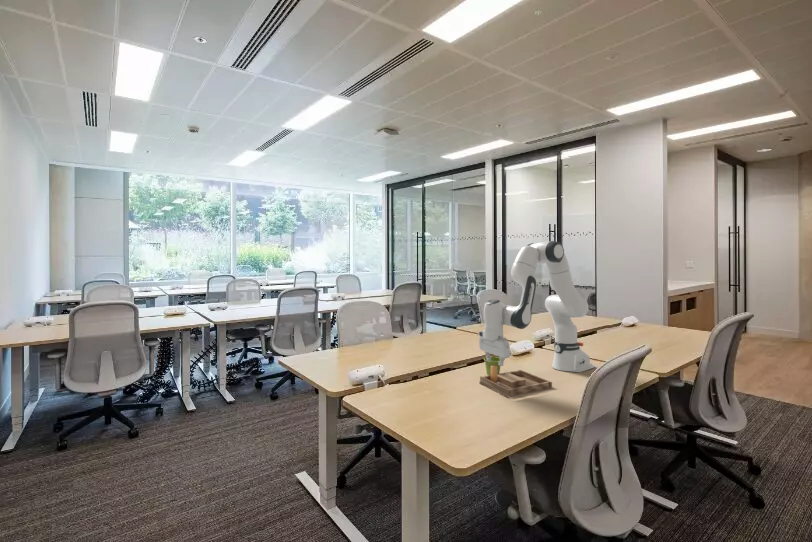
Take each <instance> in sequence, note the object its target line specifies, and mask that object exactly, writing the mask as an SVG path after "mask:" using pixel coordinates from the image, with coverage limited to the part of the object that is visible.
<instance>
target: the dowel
mask: <svg viewBox="0 0 812 542" xmlns="http://www.w3.org/2000/svg"><path fill="white" fill-rule="evenodd" d="M491 381H492V382H495V383H497V366H491Z"/></svg>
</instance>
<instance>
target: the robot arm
mask: <svg viewBox="0 0 812 542" xmlns="http://www.w3.org/2000/svg"><path fill="white" fill-rule="evenodd" d="M538 264H545V266H546V271H547V276H548V281H549V287H550V288H551V289H552V291H554V292H555V293H556V294H552V295H548V296H547V297H546V298H545V300H544V307H545V309H546V311H547V312H548V313H549V315H550V317H551V319H552V322H553V326H554V343H553V348H554V353H553V361H552V364H551V367H552V368H553V369H555V370H557V371H561V372H574V373H582V372H585V371H588V370H592V369H594V368H596V365H595V364H593V363H591V358H590V355H589V354H588V353H586V352H585V351H584V350H583V349H581V347H583V346H584V342H583V341H582V342H581V341H579V342H578V329H577V328H578V327H577V326H576V324H574V322H573V320H572V318H575V319H576V318H583V317H585V316H586V315H587V313H588V312H589V304H588V302H587V300H585V298H583V297H582V295H580V294H579V292H578V290H577V289H576V287H575V285H574V281H573V279H572V274H571V271H570V265H569V262H568V259H567V256H566V254H565V249H564V246H563V245H562V243H561V242H560V241H556V240H549V241H545V240H544V241H540V242H539V241H538V242H532V243H529V244H527V245H524V246H523V247H521V249H520V250H519V251H518V253H517V255H516V256H515V259H514V261H513V263H512V266H511V270H510V275H511V278H512V279H513V281H514V282H515V283H517V284H518V285H519V286H521V288H522V293H521V296H520V301H519V302H520V303H519V305H517V306H515V305H509V304H505V303H504V302H502V301H501V300H499V299H490V300H487V301H485V303H484V306H483V322H484V325H483V327H484V328H483V330H480V331H478V333H477V334H478V336H479V337H478V344H479V345H478V346H479V349H480V350H481V351H483V352H484V355H485V357H487V361H491V357H492V356H491V355H494V356H495V357H499V359H500V361H499V362H498V365H499V366H500V367H503V366H504V361H505V359H507V358H509V359H510V357H511V348H510V344H509V343H510V342H509V341H508V340H507V338H506V337H504V325H505V326H508V327H509V326H510V327H513V328H516V329H519V330H523V329H525V328H527V327H528V326H529V325H530V323H531V322H532V312H533V311H532V309H533V304H534V300H535V295H536V290H537V289H536V288H537V280H536V278H535V273H536V269H537V266H538Z"/></svg>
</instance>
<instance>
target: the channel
mask: <svg viewBox="0 0 812 542" xmlns="http://www.w3.org/2000/svg"><path fill="white" fill-rule="evenodd" d="M478 384H479V385H481V386H483V387H485V388H487V389H489V390H490V391H493V392H495V393H497V394H498V393H499V395H500V396H502V397H505V398H507V399H510V397H513V396H519V395H523V394H527V393H533V392H538V391H543V390H548V389H553V382H552V381H550V380H548V379H545V378H542V377H540V376H537V375H534V374H532V373H530V372H527V371H524V370H522V369H518V370H513V371H508V372H506V371H505V372H502V373H501V372H500V373H499V374H497V383H495V382H492V381H491V375H484V376H480V377H479V383H478Z"/></svg>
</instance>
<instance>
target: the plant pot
mask: <svg viewBox="0 0 812 542" xmlns="http://www.w3.org/2000/svg"><path fill="white" fill-rule="evenodd" d="M490 357H491V361H487V357H486V356H485V357H483V360H484V365H485V368H486V369H485V370H486V376H489V375H491V366H497V374H501V366H499V365H498V362H499V361H500V359H499V356H490Z"/></svg>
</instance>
